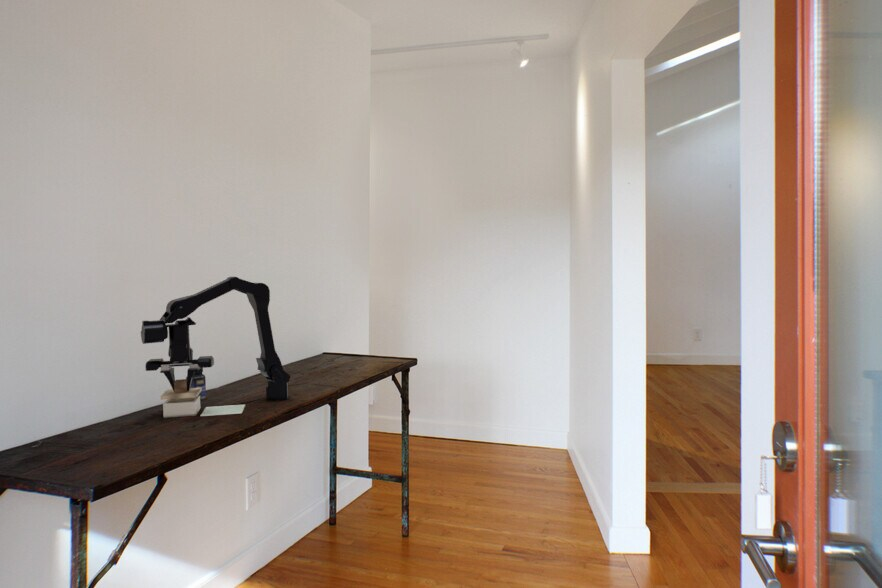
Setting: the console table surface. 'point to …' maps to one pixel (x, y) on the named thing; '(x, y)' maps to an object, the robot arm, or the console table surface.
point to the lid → (181, 391)
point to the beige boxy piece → (181, 407)
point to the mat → (223, 410)
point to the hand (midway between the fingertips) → (181, 391)
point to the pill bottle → (199, 383)
